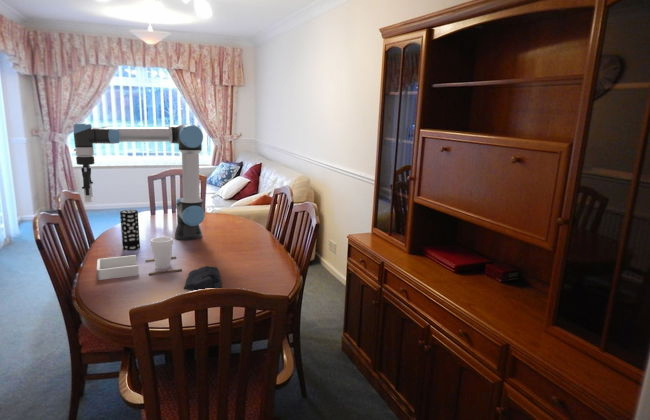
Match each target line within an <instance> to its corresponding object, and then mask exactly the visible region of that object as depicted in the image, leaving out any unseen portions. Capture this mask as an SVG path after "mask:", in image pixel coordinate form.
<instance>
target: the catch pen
mask: <svg viewBox="0 0 650 420" xmlns="http://www.w3.org/2000/svg"><path fill="white" fill-rule="evenodd" d="M96 263H97V264H96V274H97V281H101V280H110V279H117V278H127V277H133V276H139V275H140V273H139V264H138V263H137V255H136V254H133V255H123V256H115V257H105V258H104V257H103V258H97V261H96Z"/></svg>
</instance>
